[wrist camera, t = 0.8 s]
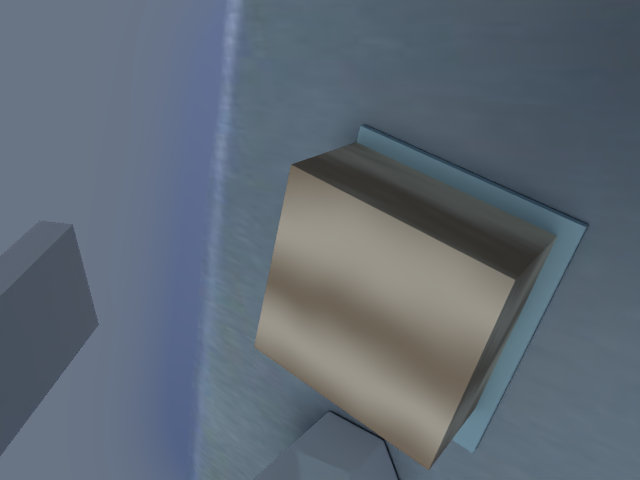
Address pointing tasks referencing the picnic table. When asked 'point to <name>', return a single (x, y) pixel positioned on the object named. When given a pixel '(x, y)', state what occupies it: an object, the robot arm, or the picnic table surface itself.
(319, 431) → the jar
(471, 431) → the build board
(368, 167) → the base block
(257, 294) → the picnic table surface
